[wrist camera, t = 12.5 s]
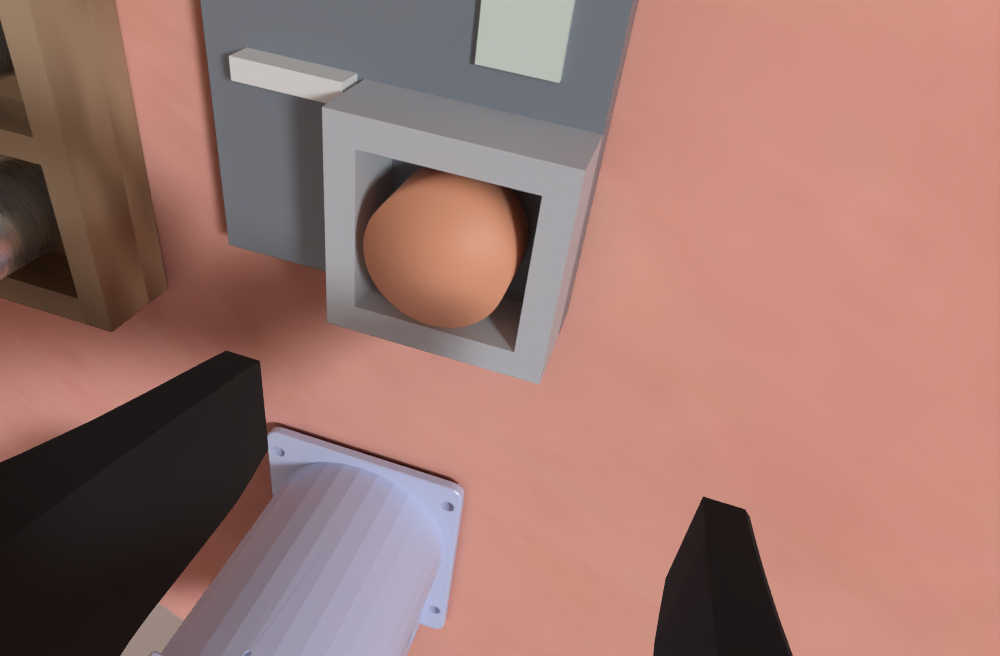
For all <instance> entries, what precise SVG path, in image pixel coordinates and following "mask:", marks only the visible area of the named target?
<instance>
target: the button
mask: <svg viewBox="0 0 1000 656" xmlns="http://www.w3.org/2000/svg"><path fill="white" fill-rule="evenodd" d="M528 240H529V227H528V222H527V217H526V214H525V211H524V209H523V207H522V205H521V202H520V201H519V199H518V198H517V196H516V194H515V193H514V192H513V191H512V189H511V188H508V187H504V186H500V185H496V184H492V183H488V182H484V181H480V180H476V179H472V178H468V177H464V176H460V175H456V174H452V173H448V172H444V171H440V170H436V169H432V168H428V167H424V166H423V167H421V168H420V169H418V170H417V171H415V172H414V173H413V174H412V175H411V176H410V177H409V178H408V179H407V180H406V181H405V182H404V183H403V184H402V185H401V186H400V187H399V188H398V189H397V190H396V191H395V192H394V193H393V194H392V195H391V196H390V197H389V198H388V199H387V200H386V201H385V202H384V203H383V204H382V205H381V206H380V207H379V208H378V209H377V211H376V212H375V213H374V214H373V215H372V217H371V219H370V220H369V222H368V225H367V227H366V230H365V234H364V241H363V251H364V258H365V263H366V266H367V269H368V272H369V274H370V276H371V278H372V280H373V282H374V283H375V285H376V287H377V288H378V289H379V291H380V292H381V293H382V295H383V296H384V297H385V298H386V299H387V300H388V301H389V302H390V303H391V304H392V305H393V306H394V307H396V308H397V309H398V310H400V311H401V312H402V313H404V314H406V315H407V316H409V317H411V318H413V319H415V320H417V321H419V322H422V323H425V324H428V325H432V326H436V327H444V328H457V327H464V326H468V325H472V324H474V323H477V322H479V321H481V320H482V319H484V318H486V317H487V316H488V315H489V314H491V313H492V312H493V311H494V309H495V308H496V307H497V306H498V304H499V303H500V301H501V299H502V298H503V296H504V294H505V292H506V290H507V288H508V286H509V285H510V283H511V281H512V279H513V277H514V275H515V273H516V272H517V270H518V268H519V266H520V264H521V262H522V260H523V258H524V256H525V254H526V251H527V247H528Z"/></svg>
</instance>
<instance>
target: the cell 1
mask: <svg viewBox="0 0 1000 656" xmlns="http://www.w3.org/2000/svg"><path fill="white" fill-rule="evenodd" d="M13 75H16V74H15V70H14V66H13V63H12V59H11V56H10V52H9V49H8V45H7V41H6V38H5V34H4V31H3V27H2V24H1V20H0V79H4V78H7V77H10V76H13Z"/></svg>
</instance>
